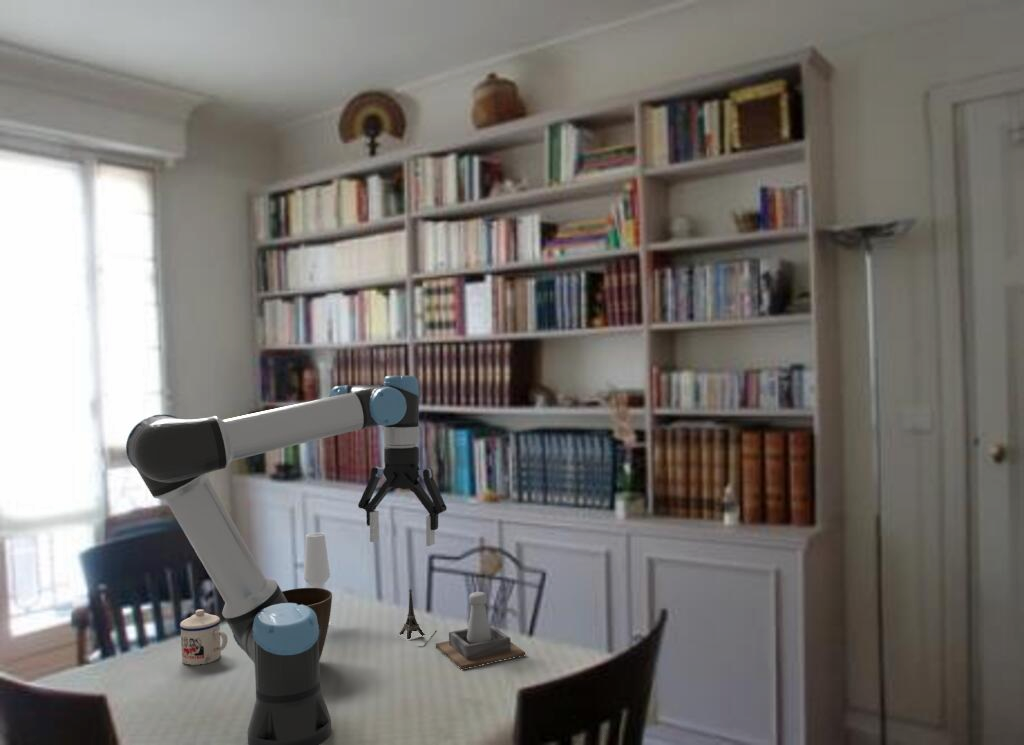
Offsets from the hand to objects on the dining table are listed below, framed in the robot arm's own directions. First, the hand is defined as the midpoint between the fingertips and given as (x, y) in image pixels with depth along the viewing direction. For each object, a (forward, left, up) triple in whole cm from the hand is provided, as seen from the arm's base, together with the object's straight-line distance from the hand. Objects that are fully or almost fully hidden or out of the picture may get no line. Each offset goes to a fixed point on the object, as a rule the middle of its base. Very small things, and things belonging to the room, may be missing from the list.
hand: (402, 542), depth 178 cm
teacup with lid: (+34, +38, -30) cm, 59 cm away
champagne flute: (+45, +9, -30) cm, 55 cm away
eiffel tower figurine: (+24, -10, -30) cm, 40 cm away
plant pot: (+18, +19, -30) cm, 40 cm away
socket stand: (+5, -20, -30) cm, 36 cm away
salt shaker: (+5, -20, -29) cm, 35 cm away
